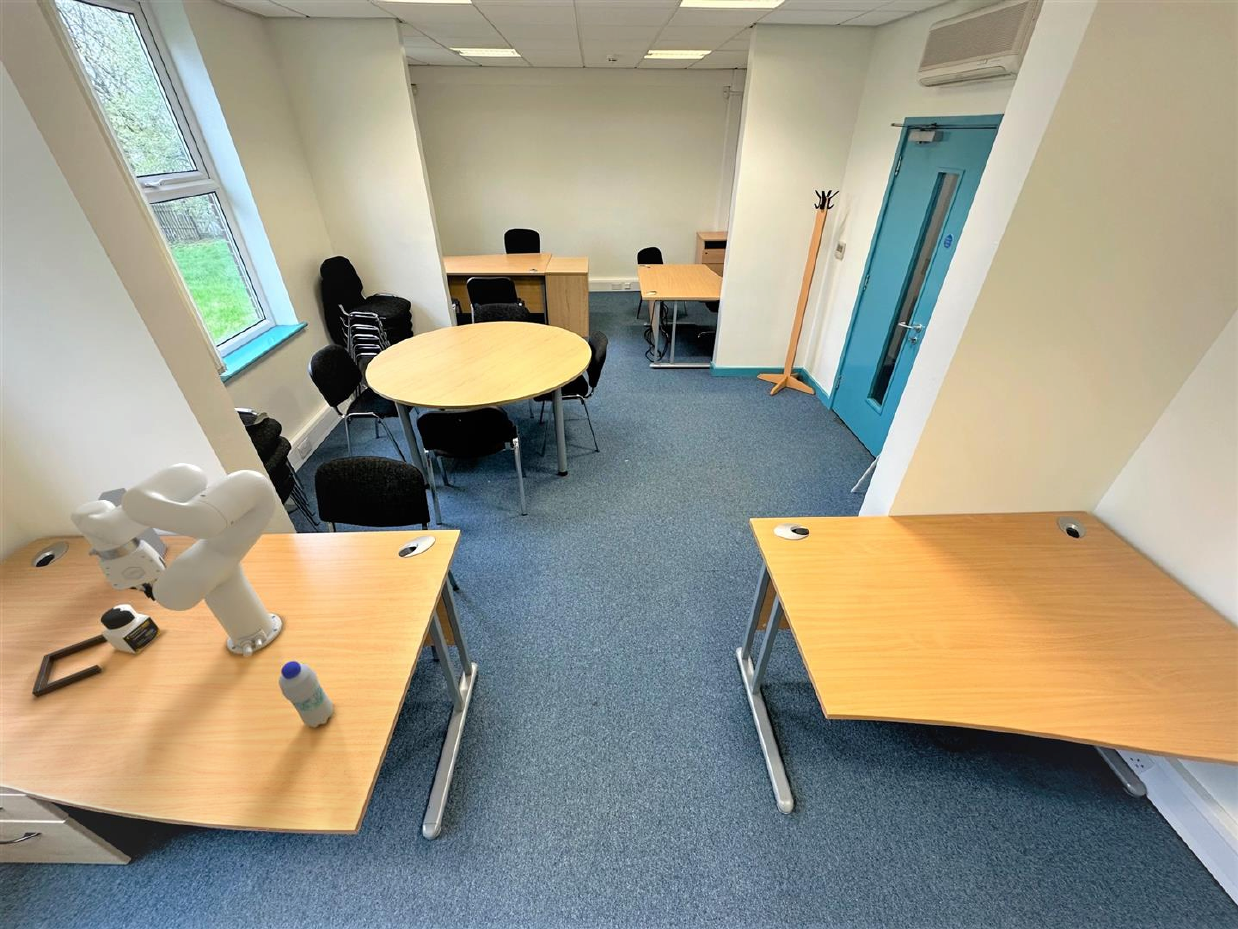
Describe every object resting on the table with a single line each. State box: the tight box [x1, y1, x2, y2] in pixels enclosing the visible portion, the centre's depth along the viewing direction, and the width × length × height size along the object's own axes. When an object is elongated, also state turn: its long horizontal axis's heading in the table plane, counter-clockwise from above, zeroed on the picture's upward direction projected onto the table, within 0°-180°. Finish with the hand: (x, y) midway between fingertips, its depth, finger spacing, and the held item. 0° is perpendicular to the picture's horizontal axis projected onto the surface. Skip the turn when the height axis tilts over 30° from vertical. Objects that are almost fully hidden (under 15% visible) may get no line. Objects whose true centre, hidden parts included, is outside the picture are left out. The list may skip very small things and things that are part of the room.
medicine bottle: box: [100, 604, 163, 655], centre depth 128 cm, size 7×7×12 cm
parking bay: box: [31, 634, 109, 699], centre depth 124 cm, size 13×12×2 cm
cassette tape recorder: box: [97, 487, 167, 560], centre depth 149 cm, size 14×6×25 cm, turn 28°
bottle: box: [278, 660, 334, 728], centre depth 108 cm, size 7×7×20 cm
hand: (157, 596), depth 129 cm, fingers closed
